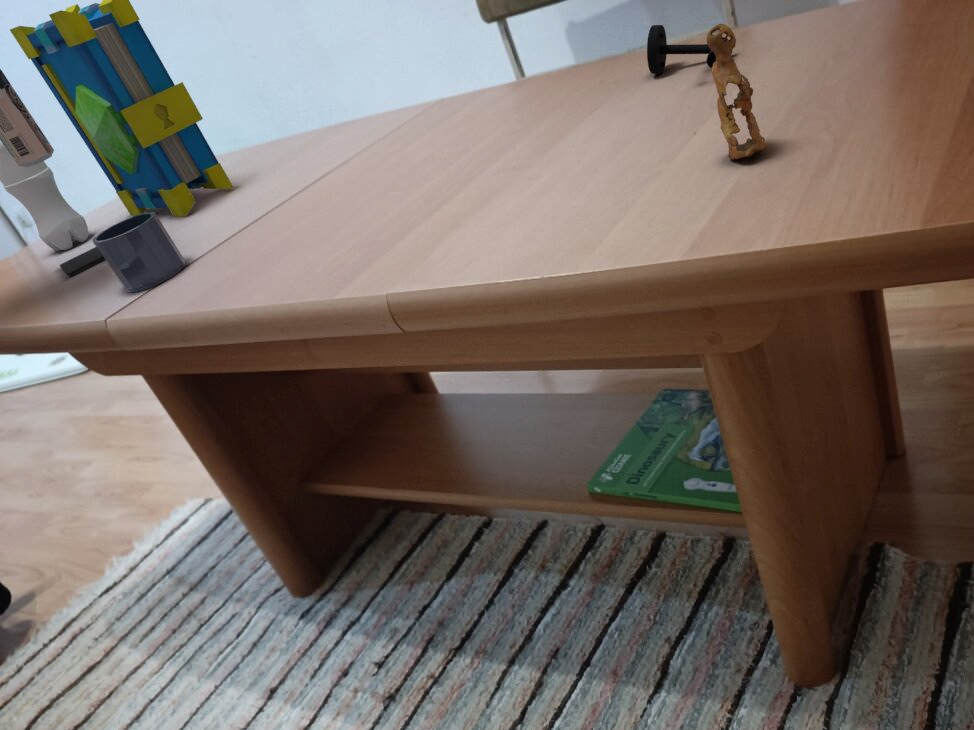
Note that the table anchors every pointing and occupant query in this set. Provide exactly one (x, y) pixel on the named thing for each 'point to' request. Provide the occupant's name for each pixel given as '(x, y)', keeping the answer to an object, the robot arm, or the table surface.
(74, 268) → the mat
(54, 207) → the water bottle
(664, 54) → the light fixture
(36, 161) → the supplement bottle
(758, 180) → the table surface
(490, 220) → the table surface
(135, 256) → the cup
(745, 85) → the figurine
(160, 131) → the decorative book
